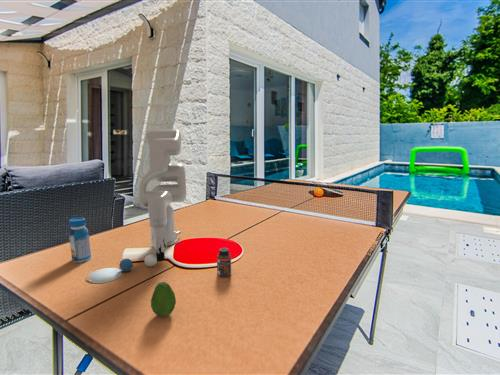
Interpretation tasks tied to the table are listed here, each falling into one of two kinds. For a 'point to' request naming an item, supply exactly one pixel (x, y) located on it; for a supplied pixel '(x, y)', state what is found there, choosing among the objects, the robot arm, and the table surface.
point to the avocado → (163, 300)
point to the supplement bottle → (224, 263)
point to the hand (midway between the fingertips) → (160, 260)
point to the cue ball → (150, 260)
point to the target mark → (104, 275)
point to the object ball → (126, 265)
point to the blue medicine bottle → (79, 240)
